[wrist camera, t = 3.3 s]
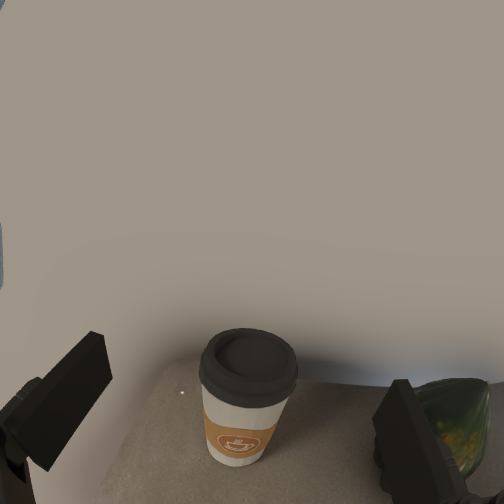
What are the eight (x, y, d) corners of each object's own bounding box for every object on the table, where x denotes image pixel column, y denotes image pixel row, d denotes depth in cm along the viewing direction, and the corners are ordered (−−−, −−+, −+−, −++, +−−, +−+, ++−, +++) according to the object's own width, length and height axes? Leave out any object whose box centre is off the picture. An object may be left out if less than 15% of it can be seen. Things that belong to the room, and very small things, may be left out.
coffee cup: (193, 469, 22) (189, 379, 17) (204, 416, 29) (208, 319, 25) (271, 478, 22) (309, 392, 17) (270, 424, 30) (296, 330, 25)
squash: (335, 457, 20) (490, 412, 11) (378, 383, 31) (477, 336, 23) (378, 523, 16) (500, 496, 8) (410, 448, 28) (499, 414, 19)
